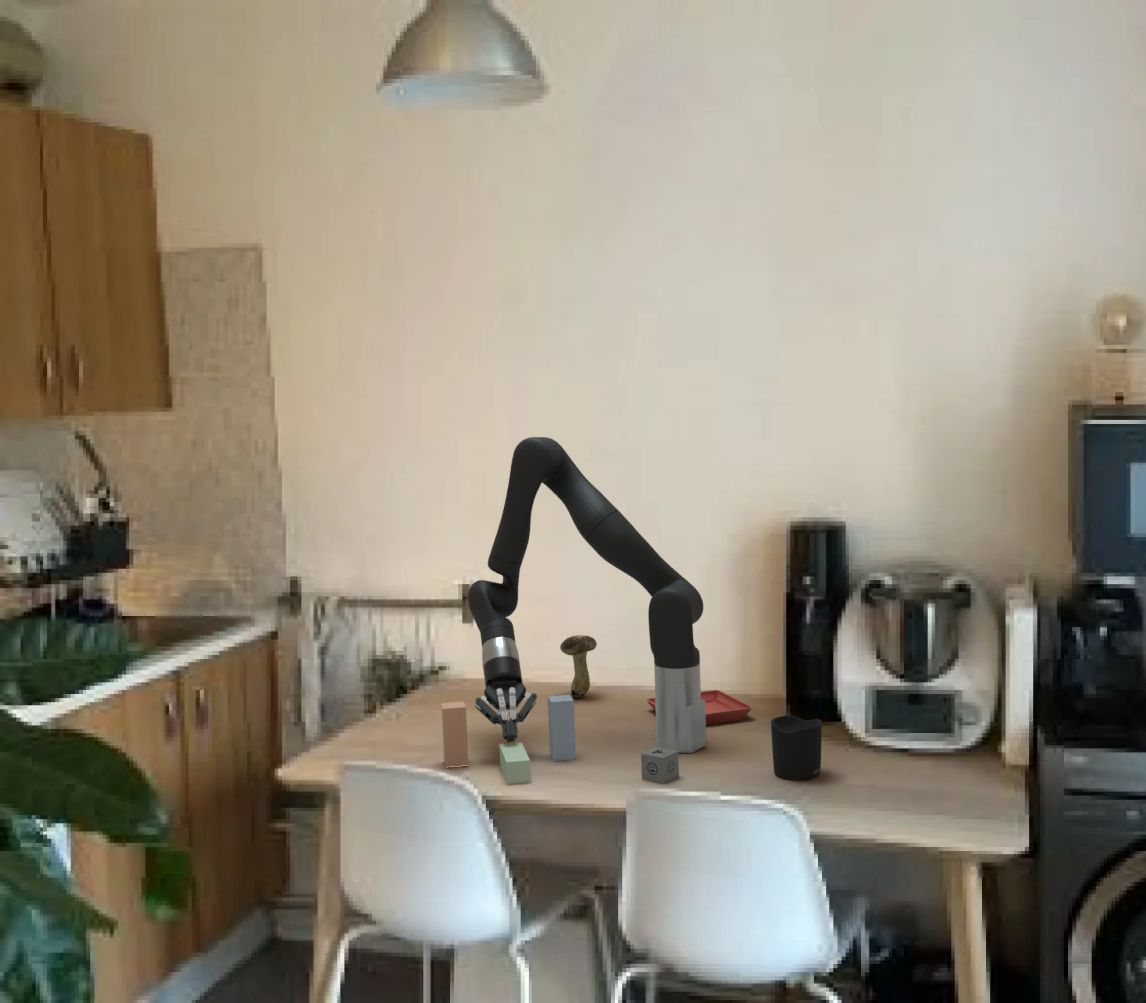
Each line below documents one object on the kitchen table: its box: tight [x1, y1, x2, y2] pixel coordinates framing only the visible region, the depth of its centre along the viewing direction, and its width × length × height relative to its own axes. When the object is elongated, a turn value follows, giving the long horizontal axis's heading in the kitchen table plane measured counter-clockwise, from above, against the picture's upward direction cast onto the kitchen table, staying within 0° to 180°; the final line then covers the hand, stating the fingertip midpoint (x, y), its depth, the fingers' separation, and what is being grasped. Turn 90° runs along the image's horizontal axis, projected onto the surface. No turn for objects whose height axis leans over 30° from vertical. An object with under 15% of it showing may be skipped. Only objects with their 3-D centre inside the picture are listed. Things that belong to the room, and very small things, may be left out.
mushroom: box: [559, 634, 598, 699], centre depth 300 cm, size 9×9×15 cm
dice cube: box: [640, 746, 680, 785], centre depth 241 cm, size 5×5×5 cm
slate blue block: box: [547, 694, 577, 762], centre depth 256 cm, size 4×4×12 cm
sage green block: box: [498, 741, 532, 785], centre depth 247 cm, size 4×4×12 cm
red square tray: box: [646, 689, 753, 726], centre depth 283 cm, size 18×18×3 cm
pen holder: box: [770, 715, 823, 781], centre depth 240 cm, size 9×9×10 cm
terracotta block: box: [440, 701, 469, 768], centre depth 254 cm, size 4×4×12 cm
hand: (511, 739), depth 251 cm, fingers closed
